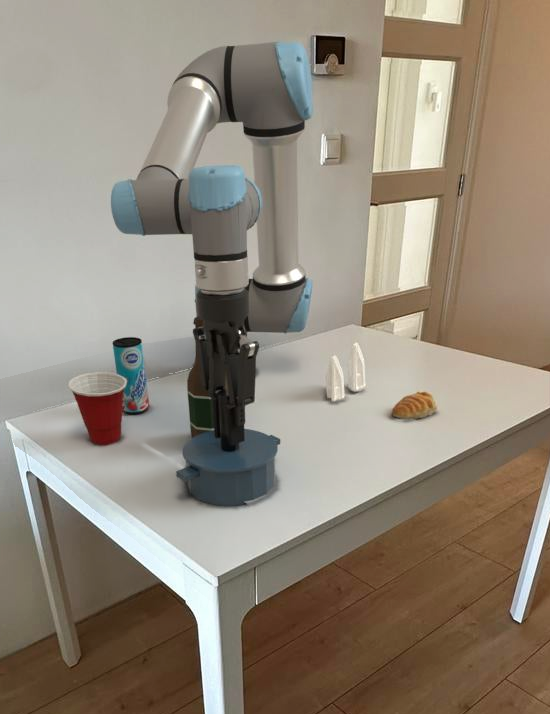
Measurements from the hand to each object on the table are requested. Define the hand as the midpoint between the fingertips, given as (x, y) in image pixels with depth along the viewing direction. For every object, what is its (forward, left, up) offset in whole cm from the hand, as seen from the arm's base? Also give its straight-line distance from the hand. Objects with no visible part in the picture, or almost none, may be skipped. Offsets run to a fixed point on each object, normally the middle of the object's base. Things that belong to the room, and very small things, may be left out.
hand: (229, 438), depth 102 cm
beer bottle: (-15, +7, -9) cm, 19 cm away
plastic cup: (-31, -7, -9) cm, 33 cm away
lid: (0, 0, -2) cm, 2 cm away
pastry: (+2, +46, -9) cm, 47 cm away
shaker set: (-15, +44, -9) cm, 47 cm away
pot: (0, 0, -8) cm, 8 cm away
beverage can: (-40, +5, -9) cm, 41 cm away
